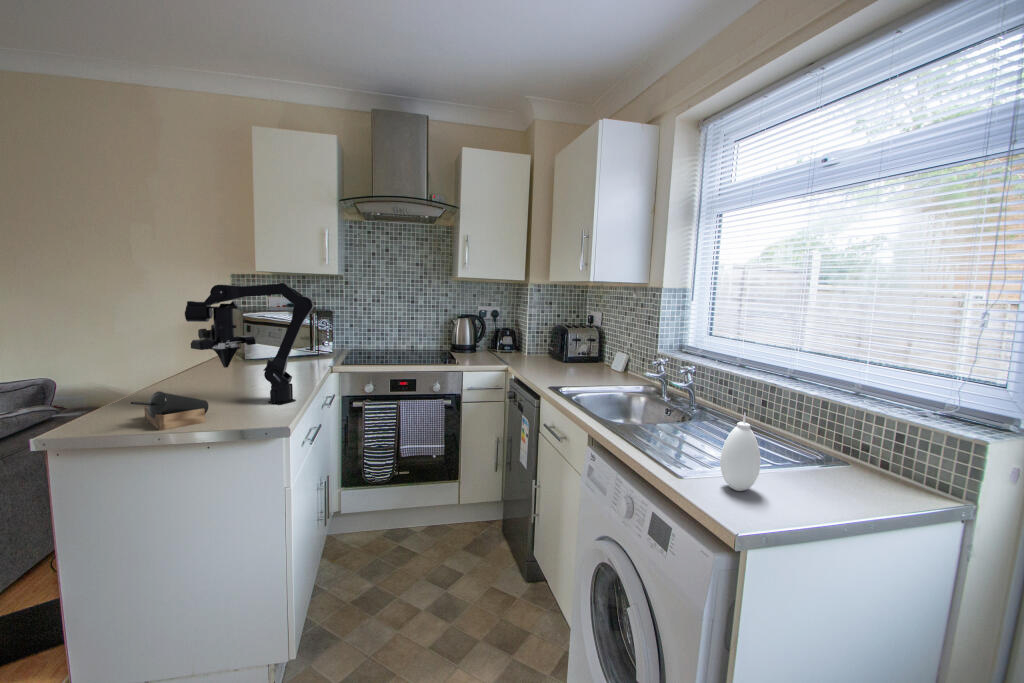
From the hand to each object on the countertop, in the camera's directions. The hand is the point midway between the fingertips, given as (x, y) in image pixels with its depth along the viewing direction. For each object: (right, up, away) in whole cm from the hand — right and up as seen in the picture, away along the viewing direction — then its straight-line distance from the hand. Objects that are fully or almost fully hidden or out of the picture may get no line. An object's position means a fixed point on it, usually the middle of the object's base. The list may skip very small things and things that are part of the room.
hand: (225, 367), depth 153 cm
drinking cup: (0, -12, -11) cm, 16 cm away
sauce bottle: (+149, -25, -52) cm, 159 cm away
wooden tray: (-4, -15, -17) cm, 23 cm away
